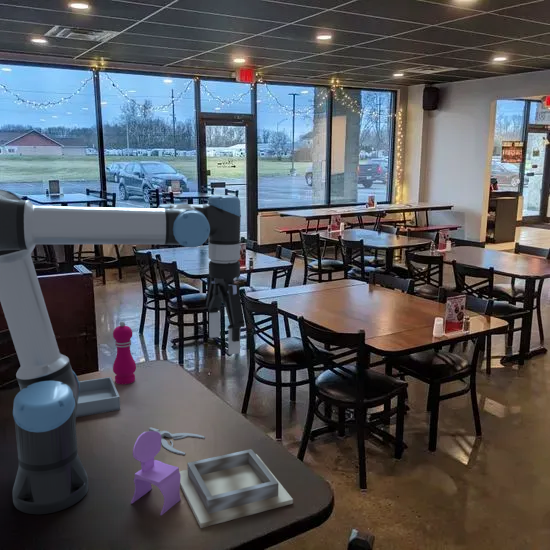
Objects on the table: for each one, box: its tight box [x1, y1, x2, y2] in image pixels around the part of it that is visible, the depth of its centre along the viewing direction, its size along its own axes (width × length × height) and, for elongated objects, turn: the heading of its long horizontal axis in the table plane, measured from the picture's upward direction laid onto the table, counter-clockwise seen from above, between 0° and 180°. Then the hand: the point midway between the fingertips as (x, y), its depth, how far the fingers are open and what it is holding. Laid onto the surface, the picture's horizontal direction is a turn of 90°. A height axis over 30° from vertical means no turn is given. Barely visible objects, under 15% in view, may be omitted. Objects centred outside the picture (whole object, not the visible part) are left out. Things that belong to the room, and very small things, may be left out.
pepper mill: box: [112, 320, 137, 385], centre depth 181 cm, size 7×7×20 cm
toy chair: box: [130, 430, 181, 516], centre depth 118 cm, size 8×9×15 cm
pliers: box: [142, 427, 206, 456], centre depth 145 cm, size 10×2×15 cm
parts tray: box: [76, 376, 121, 418], centre depth 166 cm, size 16×16×4 cm
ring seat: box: [179, 448, 294, 529], centre depth 123 cm, size 20×20×4 cm
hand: (224, 344), depth 140 cm, fingers open, 13 cm apart
